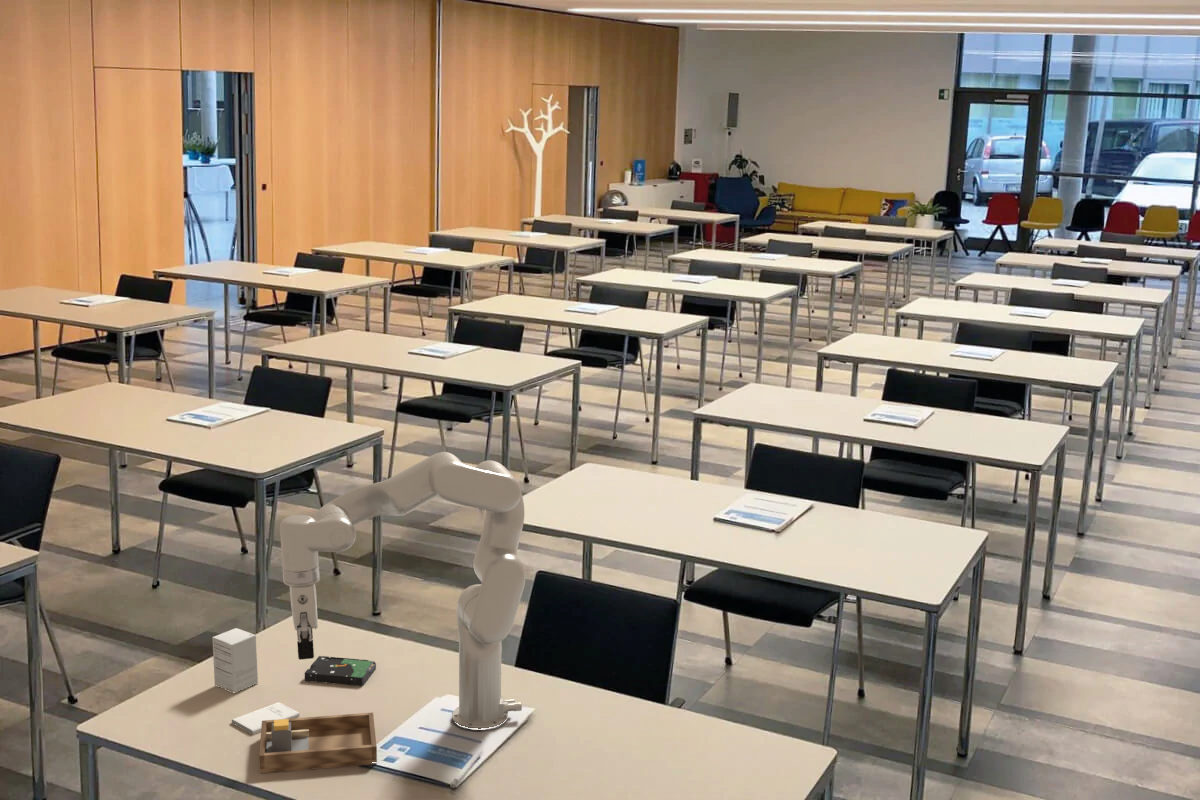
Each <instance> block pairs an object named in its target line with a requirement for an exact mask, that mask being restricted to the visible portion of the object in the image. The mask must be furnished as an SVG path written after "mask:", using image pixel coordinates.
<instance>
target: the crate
mask: <svg viewBox="0 0 1200 800" xmlns="http://www.w3.org/2000/svg"><path fill="white" fill-rule="evenodd" d="M278 720H279V719H278ZM289 722H291V734H292V751H286V752H273V753H272V734H271V731H272V723H274V720H265V721H262V726H261V732H260V738H259V739H260V741H259V753H258V755H259V757H258V758H259V760H258V761H259V774H268V773H269V774H270V773H283V772H295V771H305V770H307V771H308V770H318V769H320V770H321V769H329V768H330V769H331V768H332V769H333V768H342V767H354V766H355V767H356V766H367V765H372V764H371V763H372V762H377V763H378V756H377V755H378V751H377V745H378V744H377V737H376V727H375V718H374V712H364V713H363V712H362V713H349V714H337V715H336V714H334V715H321V716H309V717H307V716H306V717H297V718H292V719H289Z"/></svg>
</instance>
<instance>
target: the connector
mask: <svg viewBox="0 0 1200 800" xmlns="http://www.w3.org/2000/svg"><path fill="white" fill-rule="evenodd" d="M271 734H272V753H273V752H286V751H292V734H291V722H289V719H279V720H274V723H272V731H271Z"/></svg>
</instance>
